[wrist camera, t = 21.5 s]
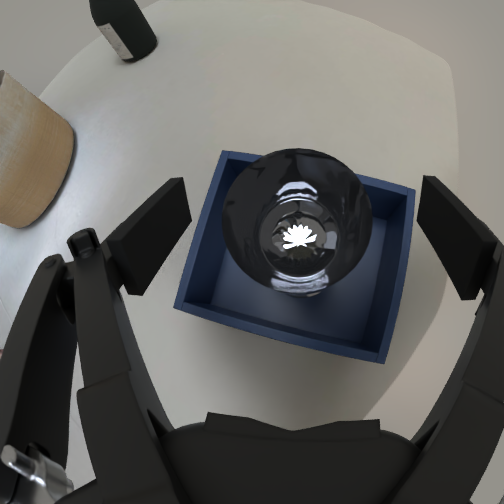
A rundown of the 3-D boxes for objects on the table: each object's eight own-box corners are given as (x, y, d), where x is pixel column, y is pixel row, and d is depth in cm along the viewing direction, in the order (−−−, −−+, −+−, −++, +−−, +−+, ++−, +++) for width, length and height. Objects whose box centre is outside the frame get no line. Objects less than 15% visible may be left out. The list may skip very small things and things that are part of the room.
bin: (392, 217, 29) (415, 189, 21) (364, 351, 27) (384, 364, 19) (240, 184, 33) (222, 149, 25) (204, 309, 31) (172, 307, 23)
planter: (31, 132, 46) (-26, 91, 26) (95, 114, 41) (26, 49, 22) (-1, 227, 42) (-73, 199, 23) (54, 234, 37) (-48, 194, 18)
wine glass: (347, 233, 29) (380, 164, 14) (330, 310, 28) (357, 310, 13) (273, 217, 30) (243, 139, 16) (253, 291, 29) (203, 272, 15)
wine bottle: (127, 69, 43) (45, -37, 14) (120, 54, 45) (49, -40, 16) (163, 46, 42) (93, -68, 13) (153, 33, 44) (91, -67, 15)
